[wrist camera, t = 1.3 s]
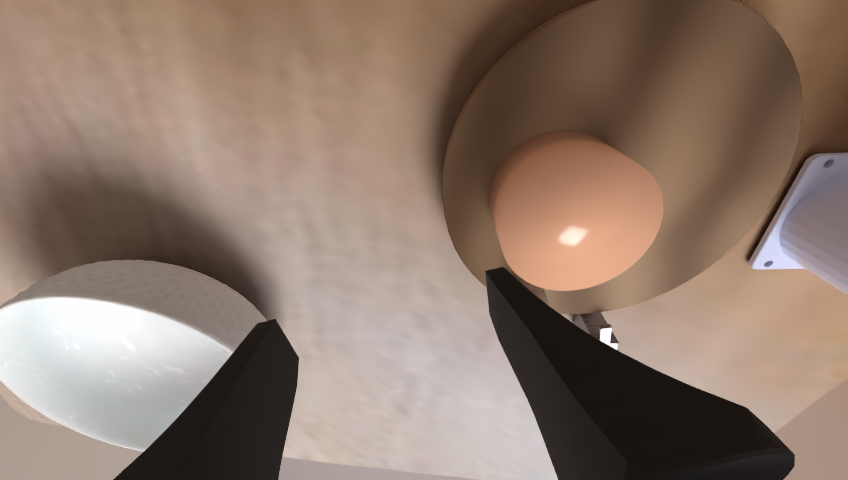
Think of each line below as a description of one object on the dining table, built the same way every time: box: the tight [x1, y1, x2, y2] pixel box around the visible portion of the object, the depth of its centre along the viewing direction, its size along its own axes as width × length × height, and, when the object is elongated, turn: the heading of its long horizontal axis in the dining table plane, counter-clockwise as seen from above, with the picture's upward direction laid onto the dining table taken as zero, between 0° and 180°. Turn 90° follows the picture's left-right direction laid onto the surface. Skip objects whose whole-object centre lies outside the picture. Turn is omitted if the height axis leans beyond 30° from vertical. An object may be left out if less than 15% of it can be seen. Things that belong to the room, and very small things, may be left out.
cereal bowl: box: [0, 259, 267, 452], centre depth 25 cm, size 17×17×7 cm
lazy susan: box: [442, 0, 803, 314], centre depth 18 cm, size 18×18×5 cm
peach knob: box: [488, 129, 663, 291], centre depth 17 cm, size 7×7×4 cm
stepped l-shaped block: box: [573, 312, 619, 350], centre depth 25 cm, size 2×3×4 cm, turn 2°
